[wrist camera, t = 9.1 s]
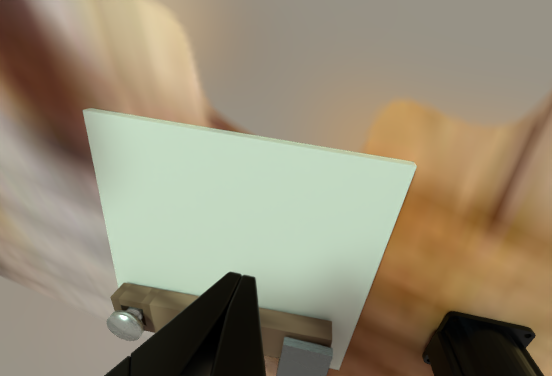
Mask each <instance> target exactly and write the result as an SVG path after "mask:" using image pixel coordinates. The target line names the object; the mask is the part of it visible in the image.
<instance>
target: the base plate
mask: <svg viewBox="0 0 552 376" xmlns="http://www.w3.org/2000/svg"><path fill="white" fill-rule="evenodd" d="M83 115H84V120H85V125H86V130H87V135H88V140H89V145H90V149H91V154H92V159H93V164H94V169H95V174H96V179H97V184H98V189H99V194H100V199H101V204H102V209H103V214H104V219H105V224H106V229H107V233H108V238H109V243H110V248H111V253H112V258H113V263H114V268H115V273H116V278H117V283H118V288H119V287H120V286H121V285H122V284H123V283H130V284H135V285H140V286H146V287H151V288H156V289H162V290H167V291H173V292H178V293H183V294H189V295H194V296H200V295H202V294H203V293H204V292H205V291H206V290H208V289H209V288H210V287H211V286H212V285H214V284H215V283H216V282H217V281H218V280H220V279H221V278H222V277H223V276H224V275H225V274H227V273H228V272H236V273H240V274H242V276H243V275H249V276H254V277H255V278H256V284H257V294H258V303H259V308H264V309H269V310H275V311H280V312H286V313H291V314H296V315H302V316H307V317H312V318H318V319H323V320H329V321H332V344H331V348H333V358H332V361H331V364H330V367H329V368H332V369H336V370H339V368H340V366H341V363H342V361H343V358H344V355H345V353H346V350H347V348H348V345H349V342H350V340H351V337H352V334H353V332H354V329H355V327H356V324H357V321H358V319H359V316H360V314H361V311H362V308H363V306H364V303H365V300H366V298H367V295H368V293H369V290H370V287H371V285H372V282H373V280H374V277H375V274H376V272H377V269H378V266H379V264H380V261H381V259H382V256H383V253H384V251H385V248H386V246H387V243H388V240H389V238H390V235H391V233H392V230H393V227H394V225H395V222H396V219H397V217H398V214H399V212H400V209H401V206H402V204H403V201H404V199H405V196H406V193H407V191H408V188H409V185H410V183H411V180H412V178H413V175H414V172H415V170H416V167H417V166H416V164H415V163H414V162H412V161H406V160H400V159H394V158H388V157H382V156H376V155H370V154H364V153H358V152H352V151H346V150H339V149H334V148H328V147H322V146H316V145H310V144H303V143H298V142H291V141H286V140H280V139H273V138H268V137H262V136H256V135H250V134H244V133H238V132H232V131H226V130H220V129H214V128H208V127H202V126H196V125H190V124H184V123H178V122H172V121H166V120H160V119H154V118H148V117H142V116H136V115H130V114H124V113H118V112H112V111H106V110H100V109H94V108H89V109H85V110H83ZM143 316H144V313H143V309H139V308H134V307H129V308H128V309H127V310H126V311H124V310H117V311H115V312H113V313H112V315H111V316H110V317H109V318H108V319H107V326H108V328H109V330H110V331H111V332H112V333H113V334H115V335H116V336H117V337H119V338H121V339H124V340H128V341H134V340H137V339H139V338H140V336H141V335H142V333H143V332H144V329H145V328H144V324H143V322H142V321H141V319H142V318H143Z"/></svg>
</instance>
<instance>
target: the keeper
mask: <svg viewBox="0 0 552 376" xmlns="http://www.w3.org/2000/svg"><path fill="white" fill-rule="evenodd" d="M332 358H333V348H330V347H326V346H322V345H318V344H314V343H310V342H305V341H301V340H297V339H293V338H289V337H284V342H283V346H282V351H281V356H280V359H279V362H278V368H277V374H276V376H326V375H327V372H328V369H329V367H330V364H331V361H332Z"/></svg>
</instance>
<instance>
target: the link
mask: <svg viewBox="0 0 552 376" xmlns="http://www.w3.org/2000/svg"><path fill="white" fill-rule="evenodd" d="M198 297H199V296H194V295H189V294H183V293H178V292H173V291H167V290H162V289H156V288H151V287H146V286H140V285H135V284H130V283H123V284H122V285H121V286H120V287H119V288H118V289H117V291H116V292H115V293H114V294H113V295H112V296H111V300H112V303H113V307H114V310H115V311H117V310H124V311H126V310H127V309H128V308H129V307H134V308H139V309H143V313H144V316H143V318H142V319H141V321H142V322H143V324H144V328H145V329H144V330H145V331H150V332H155V333H156V332H157V331H159V330H160V329H161V328H162V327H163V326H165V325H166V324H167V323H168V322H169V321H171V320H172V319H173V318H174V317H175V316H177V315H178V314H179V313H180V312H181V311H183V310H184V309H185V308H186V307H187V306H188V305H190V304H191V303H192V302H193V301H194V300H196V299H197V298H198ZM259 313H260V323H261V332H262V342H263V351H264V355H265V356H270V357H275V358H279V359H280V356H281V351H282V346H283V342H284V337H289V338H293V339H297V340H301V341H305V342H310V343H314V344H318V345H322V346H326V347H330V348H331V344H332V321H329V320H323V319H318V318H312V317H307V316H302V315H296V314H291V313H286V312H280V311H275V310H269V309H264V308H259Z"/></svg>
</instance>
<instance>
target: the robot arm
mask: <svg viewBox="0 0 552 376" xmlns="http://www.w3.org/2000/svg"><path fill="white" fill-rule="evenodd" d="M534 338H535V333H534V332H533V331H532V329H531V328H528V327H524V326H519V325H515V324H510V323H506V322H501V321H496V320H492V319H487V318H482V317H478V316H473V315H469V314H464V313H459V312H449V313H448V314H447V315H446V317H445V318H444V320H443V322H442V323H441V325H440V327H439V328H438V330H437V332H436V333H435V335H434V336H433V338H432V340H431V341H430V343H429V345H428V346H427V348H426V350H425V352H424V354H423V356H422V357H423V360H424V362H425V363H427V364H431V367H432V370H433V373H434V376H544V375H543V373H542V372H541V370H540V369H539V367H538V366H537V364H536V363H535V361H534V360H533V358H532V357H531V356H530V354H529V353H528V351H527V350H526V347H527V346H528V345H529V343H530V342H531V341H532V340H533V339H534ZM104 376H266V371H265V361H264V351H263V342H262V332H261V323H260V313H259V303H258V294H257V284H256V278H255V277H254V276H249V275H243V276H242V274H240V273H236V272H228V273H227V274H225V275H224V276H223V277H222V278H221V279H220V280H218V281H217V282H216V283H215V284H214V285H212V286H211V287H210V288H209V289H208V290H206V291H205V292H204V293H203V294H202V295H200V296H199V297H198V298H197V299H196V300H194V301H193V302H192V303H191V304H190V305H188V306H187V307H186V308H185V309H184V310H183V311H181V312H180V313H179V314H178V315H177V316H175V317H174V318H173V319H172V320H171V321H169V322H168V323H167V324H166V325H165V326H163V327H162V328H161V329H160V330H159V331H157V332H156V333H155V334H154V335H153V336H152V337H150V338H149V339H148V340H147V341H146V342H144V343H143V344H142V345H141V346H140V347H138V348H137V349H136V350H135V351H134V352H132V353H131V357H130V356H127V357H126V358H125V359H124V360H123V361H122V362H120V363H119V364H118V365H117V366H116V367H114V368H113V369H112V370H111V371H109V372H108V373H107V374H106V375H104Z"/></svg>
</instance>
